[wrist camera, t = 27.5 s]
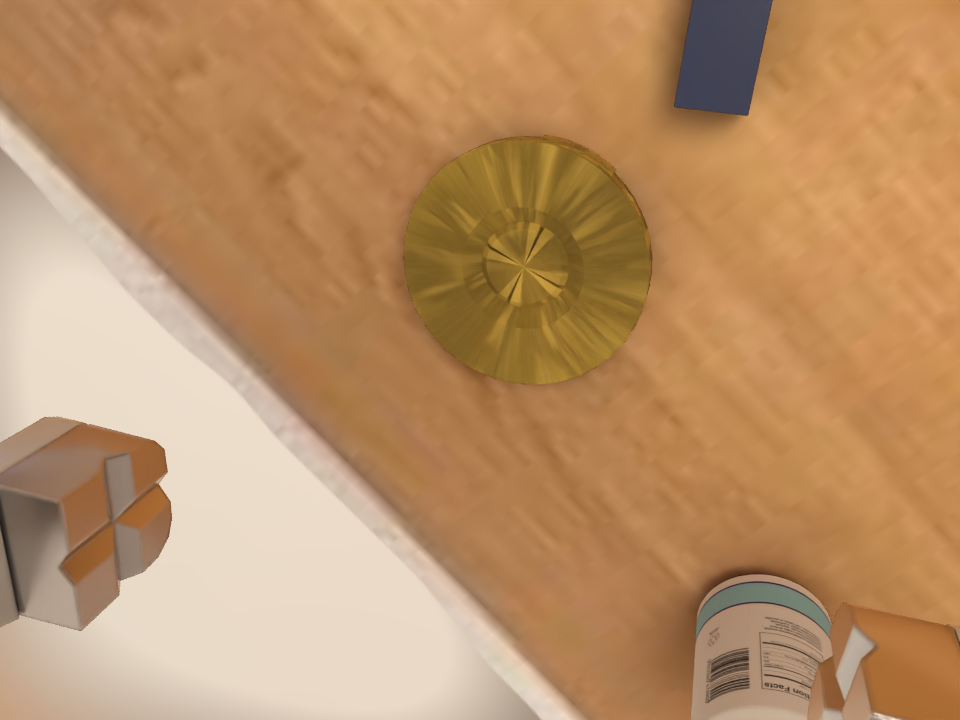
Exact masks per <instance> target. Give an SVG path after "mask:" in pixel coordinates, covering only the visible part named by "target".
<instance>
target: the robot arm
mask: <svg viewBox="0 0 960 720" xmlns="http://www.w3.org/2000/svg"><path fill="white" fill-rule="evenodd" d="M167 472H168V471H167V464H166V457H165V450H164V448H162V447H161V446H160V445H159V444H158V443H157V442H155V441H153V440H149V439H145V438H142V437H138V436H133V435H130V434H126V433H122V432H118V431H115V430H111V429H107V428H103V427H99V426H95V425H91V424H89V425H88V424H86V423H83V422H79V421H74V420H69V419H66V418H62V417H44V418H42V419H40V420H39V421H37V422H35V423H33V424H32V425H30V426H28V427H27V428H25V429H23V430H21V431H20V432H18V433H16V434H14V435H13V436H11V437H9V438H8V439H6V440H4V441H2V442H1V443H0V627H2V626H4V625H6V624H8V623H10V622H12V621H15V620H17V619H18V618H19V615H21V616H25V617H29V618H33V619H37V620H40V621H44V622H48V623H52V624H55V625H59V626H63V627H67V628H71V629H74V630H78V631H82V630H83V629H84V628H85V627H86V626H87V625H88V624H89V623H90V622H91V621H93V620H94V619H95V618H96V617H97V616H98V615H99V614H100V613H101V612H102V611H103V610H104V609H105V608H106V607H107V606H108V605H109V604H110V603H111V602H113V601H114V600H115V599H116V598H117V597H118V596H119V592H120V591H119V590H120V581H121V580H124V579H126V578H129V577H132V576H134V575H137V574H140V573H143V572H144V571H145V570H146V569H147V568H148V567H149V566H150V565H151V564H152V563H153V562H154V561H155V560H156V559H157V558H158V557H159V555H160V553H161V551H162V549H163V547H164V545H165V543H166V541H167V539H168V537H169V533H170V526H171V521H172V513H171V502H170V500H169V499H168V497H167V496H166V494H165V493H164V491H163V490H162V489H161V487H160V485H159V483H160V481H161V480H162V479H163V477H164V476H165V475H166V473H167ZM829 633H830V640H831V646H832V653H833V656H831V657H830V658H828V659H826V660H825V661H823V662H821V663H820V664H819V665H818V668H817V671H816V675H815V678H814V682H813V685H812V688H811V695H810V701H809V708H808V714H807V720H960V627H959V626H954V625H949V624H947V625H942V624H938V623H933V622H929V621H924V620H920V619H916V618H911V617H907V616H902V615H898V614H893V613H889V612H884V611H880V610H875V609H871V608H867V607H862V606H858V605H853V604H849V603H844V602H842V604H841V605H840V607H839V609H838V610H837V612H836V614H835V617H834V620H833V623H832V626H831V629H830V631H829Z"/></svg>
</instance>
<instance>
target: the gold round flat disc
mask: <svg viewBox="0 0 960 720" xmlns="http://www.w3.org/2000/svg"><path fill="white" fill-rule="evenodd" d="M615 170H616V169H615V168H614V167H613V166H611V165H610V164H609V163H608V162H607V161H606V160H604V159H603V158H602V157H600V156H599V155H597V154H595V153H594V152H592V151H591V150H589V149H587V148H585V147H583V146H581V145H579V144H577V143H574V142H571V141H568V140H565V139H562V138H558V137H553V136H547V135H544V136H543V137H529V136H523V137H510V138H505V139H500V140H495V141H492V142H489V143H487V144H484V145H481V146H479V147H477V148H475V149H473V150H471V151H469V152H467V153H465V154H463V155H462V156H460V157H458V158H456V159H455V160H454V161H452V162H451V163H449V164H448V165H446V166H445V167H444V168H443V169H442V170H441V171H440V172H439V173H438V174H437V175H435V176H434V178H433V179H432V180H431V181H430V182H429V184H428V185H427V186H426V187H425V189H424V190H423V192H422V194H421V195H420V197H419V198H418V200H417V202H416V204H415V206H414V209H413V211H412V213H411V216H410V219H409V222H408V226H407V229H406V235H405V241H404V269H405V276H406V281H407V286H408V289H409V292H410V295H411V298H412V301H413V303H414V306H415V308H416V310H417V312H418V314H419V316H420V318H421V319H422V321H423V323H424V324H425V326H426V327H427V329H428V330H429V331H430V333H431V334H432V335H433V336H434V338H435V339H436V340H437V341H438V342H439V343H440V344H441V345H442V346H443V347H444V348H445V349H446V350H447V351H448V352H449V353H451V354H452V355H453V356H454V357H455V358H457V359H458V360H460V361H461V362H463V363H464V364H466V365H467V366H469V367H470V368H472V369H474V370H476V371H478V372H480V373H482V374H485V375H488V376H490V377H493V378H495V379H499V380H503V381H507V382H512V383H519V384H548V383H556V382H560V381H564V380H568V379H571V378H574V377H577V376H580V375H582V374H584V373H586V372H588V371H590V370H592V369H594V368H595V367H597V366H598V365H600V364H601V363H603V362H604V361H606V360H607V359H608V358H609V357H610V356H611V355H612V354H614V353H615V352H616V351H617V350H618V349H619V348H620V346H621V345H622V344H623V343H624V342H625V341H626V339H627V338H628V336H629V335H630V333H631V332H632V330H633V329H634V327H635V325H636V323H637V321H638V319H639V317H640V315H641V313H642V310H643V306H644V303H645V300H646V297H647V294H648V290H649V287H650V280H651V274H652V251H651V242H650V237H649V233H648V228H647V225H646V222H645V220H644V217H643V214H642V212H641V210H640V208H639V206H638V204H637V202H636V200H635V198H634V197H633V195H632V194H631V192H630V191H629V190H628V188H627V187H626V185H625V184H624V183H623V182H622V181H621V180H620V178H619V177H618V176H617V175H616V174H615V173H614V171H615Z"/></svg>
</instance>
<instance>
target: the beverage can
mask: <svg viewBox="0 0 960 720" xmlns="http://www.w3.org/2000/svg"><path fill="white" fill-rule="evenodd" d="M831 626H832V625H831V621H830V618H829V615H828V613H827V611H826V609H825V608H824V606H823V605H822V603H821V602H820V601H819V600H818V599H817V598H816V597H815V596H814V595H813V594H812V593H811V592H809V591H808V590H807V589H805V588H804V587H802V586H800V585H798V584H797V583H795V582H792V581H790V580H787V579H784V578H781V577H777V576H772V575H763V574H751V575H743V576H738V577H735V578H731V579H729V580H726V581H724V582H722V583H721V584H719V585H717V586H716V587H714V588H713V589H712V590H711V591H710V592H709V593H708V594H707V595H706V596H705V598H704V599H703V601H702V603H701V605H700V607H699V610H698V614H697V627H696V644H695V661H694V678H693V695H692V712H691V720H807V714H808V708H809V701H810V695H811V688H812V685H813V682H814V678H815V675H816V671H817V668H818V665H819V664H820V663H821V662H823V661H825V660H826V659H828V658H830V657H831V656H833V653H832V646H831V640H830V633H829V631H830V629H831Z"/></svg>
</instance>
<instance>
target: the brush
mask: <svg viewBox="0 0 960 720" xmlns="http://www.w3.org/2000/svg"><path fill="white" fill-rule="evenodd" d="M772 1H773V0H693V1H692V6H691V12H690V18H689V23H688V29H687V35H686V41H685V46H684V52H683V58H682V63H681V69H680V75H679V80H678V86H677V92H676V97H675V103H674V107H677V108H685V109H694V110H702V111H711V112H719V113H728V114H736V115H744V116H747V115H748V114H749V109H750V104H751V100H752V95H753V90H754V85H755V81H756V76H757V71H758V67H759V62H760V57H761V53H762V48H763V43H764V38H765V34H766V29H767V24H768V20H769V15H770V10H771V6H772Z"/></svg>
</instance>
